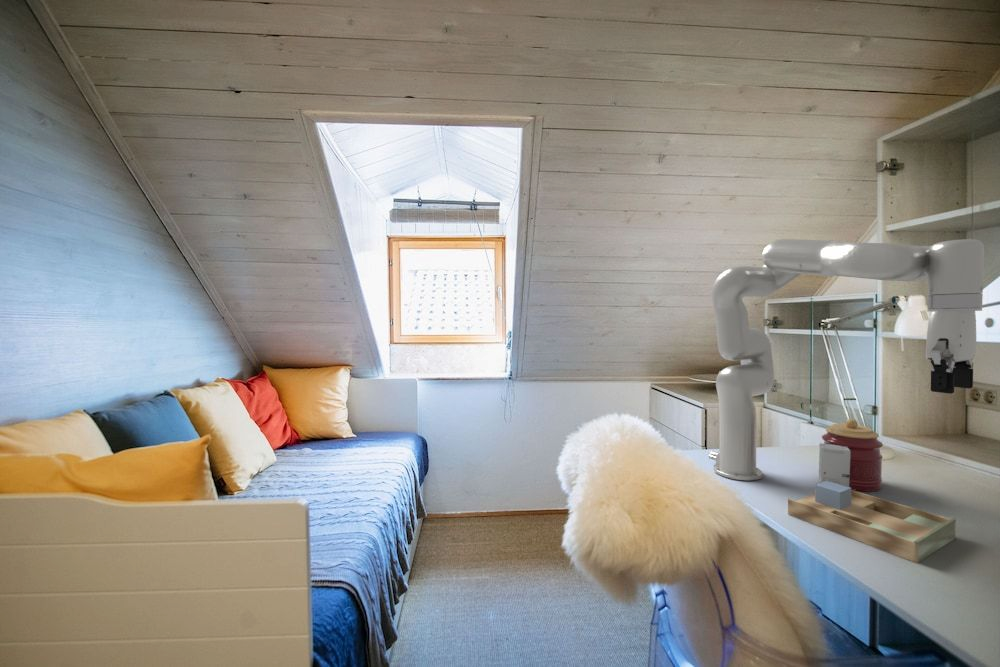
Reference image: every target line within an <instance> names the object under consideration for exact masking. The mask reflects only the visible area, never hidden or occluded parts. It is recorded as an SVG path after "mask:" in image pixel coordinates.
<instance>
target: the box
mask: <svg viewBox="0 0 1000 667" xmlns="http://www.w3.org/2000/svg"><path fill="white" fill-rule="evenodd" d="M788 514H789V515H788ZM787 515H788V516H792V517H793V516H794V518H796V517H797V519H799V520H801V519H802V521H805V522H807V523H809V522H810V524H813V525H815V526H817V527H820V528H823V529H825V530H828V531H831V532H833V531H834V533H836V532H837V534H839V535H841V534H842V535H841V536H844V535H845V536H844V537H847V536H848V537H847V538H849V537H851V538H850V539H852V538H853V539H852V540H854V539H856V540H855V541H857V540H859V541H858V542H860V541H861V542H860V543H862V542H863V544H865V543H866V544H865V545H869V546H870V545H871V547H873V546H874V548H876V549H878V548H879V550H881V551H883V552H887V553H889V554H892V555H895V556H897V557H899V558H902V559H905V560H908V561H911V562H914V563H916V564H918V563H920V562H921V561H923V560H924V559H926V558H927V557H929V556H930V555H932V554H933V553H935V552H937V550H940V549H941V548H942V547H944V546H946V545H947V544H949V543H950V542H952V541H953V540H955V539H956V524H957V520H956V518H953V517H952V518H948V517H945V516H941V515H940V514H939V515H938V514H935V513H932V512H928V511H925V510H921V509H918V508H914V507H911V506H908V505H905V504H901V503H897V502H894V501H890V500H887V499H885V498H880V497H877V496H873V495H871V494H867V493H863V492H861V491H857V490H851V505H850V506H847V507H845V508H843V509H841V510H838V509H835V508H832V507H829V506H826V505H823V504H820V503H817V502H815V493H813V494H810V495H808V496H804V497H802V498H800V499H797V500H795V499H792V498H787Z"/></svg>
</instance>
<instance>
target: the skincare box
mask: <svg viewBox="0 0 1000 667" xmlns="http://www.w3.org/2000/svg"><path fill="white" fill-rule="evenodd" d="M850 454H851V451H850V450H849V448H848V447H846V446H838V445H831V444H824V443H821V442H820V443H819V456H818V458H819V459H818V483H817V484H819V483H822V482H825V481H829V482H833V483H836V484H840V485H843V486H846V487H849V478H850Z"/></svg>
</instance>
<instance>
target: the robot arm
mask: <svg viewBox="0 0 1000 667" xmlns="http://www.w3.org/2000/svg"><path fill="white" fill-rule="evenodd" d="M984 256H985V247H984V244H983V242H982V241H981V240H978V239H975V238H974V239H973V238H972V239H971V238H966V239H965V238H964V239H953V240H945V241H940V242H936V243H934V244H932V245H911V244H905V243H904V244H903V243H890V242H888V243H883V242H855V241H854V242H852V241H851V242H849V241H841V240H833V239H832V240H831V239H830V240H828V239H827V240H822V239H797V238H796V239H795V238H794V239H793V238H792V239H791V238H790V239H789V238H786V239H785V238H782V239H777V240H774V241H771V242H770V243H768V244H767V245H766V246H765V247H764V249H763V251H762V253H761V261H762V262H763V265H762V266H751V265H750V266H749V265H741V266H740V265H739V266H733V267H731V268H729V269H726V270H724V271H723V272H722V273H720V274H719V276H718V277H717V278H716V279H715V281H714V284H713V285H712V291H711V299H712V304H713V308H714V309H713V310H714V315H715V316H714V317H715V328H716V329H715V330H716V338H717V339H716V342H717V349H718V352H719V355H720V356H721V358H723V359H724V360H726V361H733V362H735V361H740V364H737V365H730V366H727V367H725V368H723V369H722V370H720V371H719V372H718V374H717V376H716V378H715V388H716V392H717V398H718V406H719V407H718V408H719V409H718V410H719V411H718V412H719V414H718V415H719V419H718V420H719V429H718V430H719V432H718V433H719V441H718V443H719V448H718V449H719V452H718V451H714V450H711V451H710V454H708V459H709V460H713V461H715V464H714V465H713V471H714V472H715V473H716V474H717V475H719V476H721V477H724V478H727V479H731V480H739V481H749V482H750V481H756V480H760V479H762V478H763V475H764V474H763V471H762V470H761V469H760V468H759V467H757V410H756V407H755V403H754V401H753V397H756V396H761V395H765V394H767V393H768V392H769V391H771V389H772V388H773V386H774V382H775V371H774V361H773V351H772V349H773V348H772V343H771V340H770V338H769V336H768V335H767V334H766V333H765V332H764V331H763V330H762V329H760V328H758V327H750V322H749V314H748V312H749V311H748V309H747V306H746V305H745V302H744V301H743V298H744V297H760V298H761V297H766V296H770V295H772V294H774V293H776V292H777V291H779V290H780V289H782V288H783V287H785V286H786V285H788V284H789V283H791V282H793V281H794V280H795V279H797V278H799V277H800V276H801V275H809V276H812V275H813V276H820V277H829V278H830V277H845V278H855V279H856V278H858V279H859V278H860V279H867V280H868V279H869V280H877V281H886V282H887V281H888V282H890V281H891V282H894V281H897V282H915V281H916V282H917V281H921V280H927V312H930V314H929V318H928V322H927V332H926V340H925V341H926V343H925V352H924V353H925V359H926V360H928V361H930V364H931V366H930V391H931V392H933V393H941V394H953V393H955V388H961V389H972V388H973V387H974V362H973V359H974V358H975V357H976V350H977V318H976V312H982V311H983V297H984V296H983V291H984V289H983V288H984V286H983V285H984V258H985V257H984Z"/></svg>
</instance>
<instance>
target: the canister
mask: <svg viewBox="0 0 1000 667" xmlns="http://www.w3.org/2000/svg"><path fill="white" fill-rule="evenodd" d="M825 431H826V433H825V434H822V435H821V439H822V440H823V444H831V445H838V446H846V447H848V448H849V450H850V451H851V454H850V478H849V487H850V488H851V490H854V491H857V492H876V491H879V490H881V489H882V486H883V477H882V469H883V468H882V464H883V463H882V462H883V455H882V453H881V449H882V447H883V446H884V444H883V442H882V441H880V440H879V439H878V438H879V433H878V432H877V431H874V430H873V429H872V428H870V427H868V426H864V425H859V422H858V421H857V420H856V419H854V418H848V419H846V421H845V422H844V423H833V424H831V425H830V426H827V427H825Z"/></svg>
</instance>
